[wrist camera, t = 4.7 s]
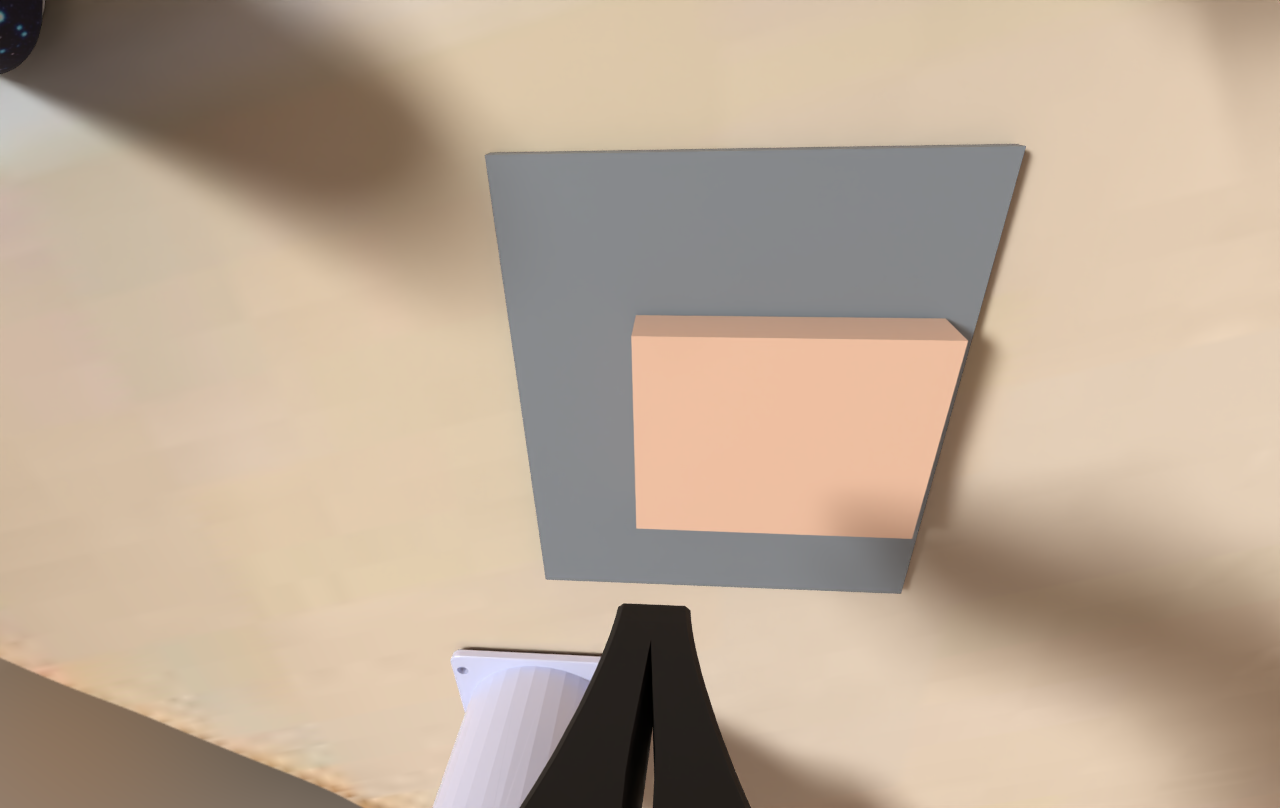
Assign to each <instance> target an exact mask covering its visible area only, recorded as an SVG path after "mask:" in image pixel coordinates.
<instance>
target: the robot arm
mask: <svg viewBox="0 0 1280 808" xmlns="http://www.w3.org/2000/svg"><path fill="white" fill-rule="evenodd" d="M451 665H452V668H453V672H454V675H455V679H456V682H457V686H458V690H459V693H460V697H461V700H462V704H463V707H464V711H465V715H464V718H463V721H462V724H461V727H460V730H459V733H458V736H457V738H456V741H455V744H454V747H453V750H452V753H451V756H450V759H449V761H448V764H447V767H446V770H445V773H444V776H443V779H442V781H441V784H440V787H439V790H438V793H437V796H436V799H435V802H434V804H433V807H432V808H642V802H643V795H644V787H645V780H646V773H647V765H648V758H649V750H650V743H651V735H652V727H653V749H654V795H653V808H751V807H750V805H749V803H748V800H747V798H746V796H745V793H744V791H743V789H742V786H741V784H740V781H739V779H738V777H737V774H736V772H735V769H734V767H733V764H732V762H731V759H730V756H729V754H728V751H727V748H726V746H725V743H724V741H723V738H722V735H721V732H720V729H719V727H718V724H717V721H716V718H715V715H714V712H713V709H712V705H711V702H710V699H709V696H708V693H707V690H706V687H705V683H704V680H703V676H702V673H701V669H700V665H699V661H698V656H697V652H696V648H695V643H694V638H693V632H692V624H691V613H690V610H689V609H688V608H687V607H685V606H671V605H647V604H622V605H621V606H619V607H618V610H617V614H616V618H615V621H614V624H613V627H612V630H611V633H610V636H609V638H608V641H607V644H606V646H605V649H604V651H603V653H602V656H601V657H600V656H580V655H560V654H540V653H520V652H500V651H480V650H457V651H455V652H454V653H453V655H452V658H451Z"/></svg>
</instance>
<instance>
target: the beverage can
mask: <svg viewBox="0 0 1280 808" xmlns="http://www.w3.org/2000/svg"><path fill="white" fill-rule="evenodd" d="M44 6H45V0H0V74H3V73H5V72H8V71H10V70H12V69H14V68H16V67H17V66H19V65H20V64H21V63H22V62H23V61H24V60H25V59H26V58H27V57H28V56H29V55H30V53H31V52H32V50H33V48H34V46H35V44H36V42H37V39H38V36H39V33H40V28H41V23H42V15H43V11H44Z"/></svg>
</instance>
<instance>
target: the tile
mask: <svg viewBox="0 0 1280 808" xmlns="http://www.w3.org/2000/svg"><path fill="white" fill-rule="evenodd" d="M967 343H968V340H967V339H966V338H965V337H964V336H963V335H962V334H961V333H960V332H959V331H958V330H957V329H956V328H955V327H954V326H953V325H952V324H951V323H950V322H949V321H948V320H947V319H945V318H854V317H763V316H672V315H636V317H635V321H634V326H633V331H632V335H631V345H632V383H633V420H634V457H635V495H636V528H637V529H663V530H690V531H716V532H743V533H769V534H796V535H822V536H849V537H875V538H902V539H912V537H913V534H914V530H915V526H916V523H917V519H918V516H919V512H920V509H921V505H922V502H923V498H924V495H925V491H926V488H927V484H928V481H929V477H930V474H931V470H932V467H933V463H934V459H935V456H936V452H937V449H938V445H939V442H940V438H941V435H942V431H943V428H944V424H945V421H946V417H947V414H948V410H949V407H950V403H951V399H952V396H953V392H954V389H955V385H956V382H957V378H958V375H959V371H960V368H961V364H962V361H963V357H964V354H965V350H966V347H967Z"/></svg>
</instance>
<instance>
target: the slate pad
mask: <svg viewBox="0 0 1280 808" xmlns="http://www.w3.org/2000/svg"><path fill="white" fill-rule="evenodd" d="M1025 148H1026V146H1023V145H1019V144H985V145H924V146H863V147H802V148H741V149H680V150H619V151H558V152H497V153H488V154H486V155H485V159H486V166H487V173H488V180H489V187H490V194H491V201H492V208H493V215H494V222H495V229H496V236H497V243H498V250H499V257H500V264H501V271H502V278H503V285H504V292H505V299H506V305H507V312H508V319H509V326H510V333H511V340H512V347H513V354H514V361H515V368H516V375H517V382H518V389H519V396H520V403H521V410H522V417H523V424H524V431H525V438H526V445H527V452H528V459H529V466H530V472H531V479H532V486H533V493H534V500H535V507H536V514H537V521H538V528H539V535H540V542H541V549H542V556H543V563H544V570H545V577H546V579H547V580H572V581H597V582H622V583H647V584H672V585H697V586H722V587H747V588H772V589H796V590H821V591H846V592H871V593H896V594H901V592H902V588H903V584H904V581H905V577H906V574H907V570H908V567H909V563H910V559H911V556H912V552H913V549H914V545H915V542H916V538H917V534H918V531H919V527H920V524H921V520H922V516H923V513H924V509H925V506H926V502H927V499H928V495H929V491H930V488H931V484H932V481H933V477H934V474H935V470H936V466H937V463H938V459H939V456H940V452H941V449H942V445H943V441H944V438H945V434H946V431H947V427H948V423H949V420H950V416H951V413H952V409H953V406H954V402H955V398H956V395H957V391H958V388H959V384H960V381H961V377H962V373H963V370H964V366H965V363H966V359H967V356H968V352H969V348H970V345H971V341H972V338H973V334H974V330H975V327H976V323H977V320H978V316H979V313H980V309H981V305H982V302H983V298H984V295H985V291H986V288H987V284H988V280H989V277H990V273H991V270H992V266H993V263H994V259H995V255H996V252H997V248H998V245H999V241H1000V238H1001V234H1002V230H1003V227H1004V223H1005V220H1006V216H1007V212H1008V209H1009V205H1010V202H1011V198H1012V195H1013V191H1014V187H1015V184H1016V180H1017V177H1018V173H1019V170H1020V166H1021V162H1022V159H1023V155H1024V152H1025ZM636 315H672V316H763V317H854V318H945V319H947V320H948V321H949V322H950V323H951V324H952V325H953V326H954V327H955V328H956V329H957V330H958V331H959V332H960V333H961V334H962V335H963V336H964V337H965V338H966V339H967V340H968V343H967V347H966V350H965V354H964V357H963V361H962V364H961V368H960V371H959V375H958V378H957V382H956V385H955V389H954V392H953V396H952V399H951V403H950V407H949V410H948V414H947V417H946V421H945V424H944V428H943V431H942V435H941V438H940V442H939V445H938V449H937V452H936V456H935V459H934V463H933V467H932V470H931V474H930V477H929V481H928V484H927V488H926V491H925V495H924V498H923V502H922V505H921V509H920V512H919V516H918V519H917V523H916V526H915V530H914V534H913V537H912V539H902V538H875V537H849V536H822V535H796V534H769V533H743V532H716V531H690V530H663V529H637V528H636V495H635V457H634V420H633V383H632V345H631V335H632V331H633V326H634V321H635V317H636Z"/></svg>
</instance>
